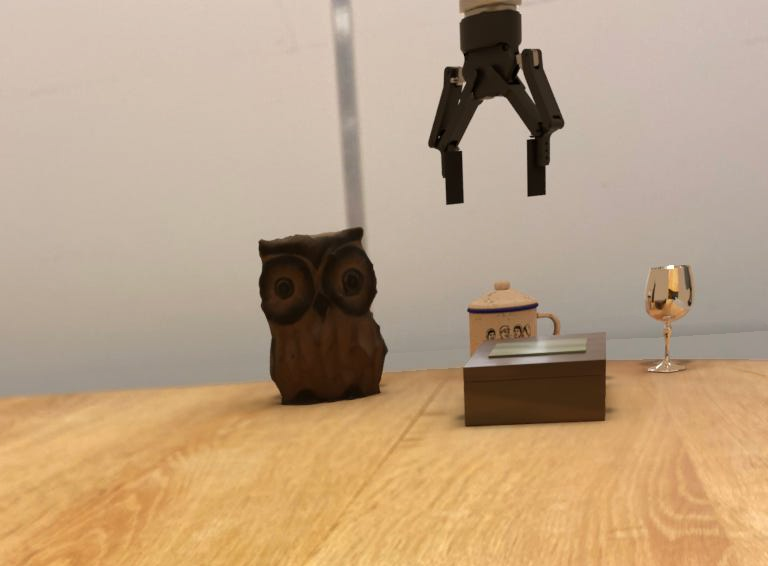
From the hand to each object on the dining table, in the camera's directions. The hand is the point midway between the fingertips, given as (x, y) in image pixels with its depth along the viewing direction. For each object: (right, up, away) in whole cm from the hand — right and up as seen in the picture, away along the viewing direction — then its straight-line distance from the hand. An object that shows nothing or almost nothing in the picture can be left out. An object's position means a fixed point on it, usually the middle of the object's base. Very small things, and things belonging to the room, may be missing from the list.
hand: (494, 200), depth 138 cm
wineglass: (+20, -24, -6) cm, 32 cm away
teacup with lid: (+3, -22, +3) cm, 22 cm away
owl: (-21, -25, 0) cm, 33 cm away
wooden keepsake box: (+1, -31, -20) cm, 37 cm away
